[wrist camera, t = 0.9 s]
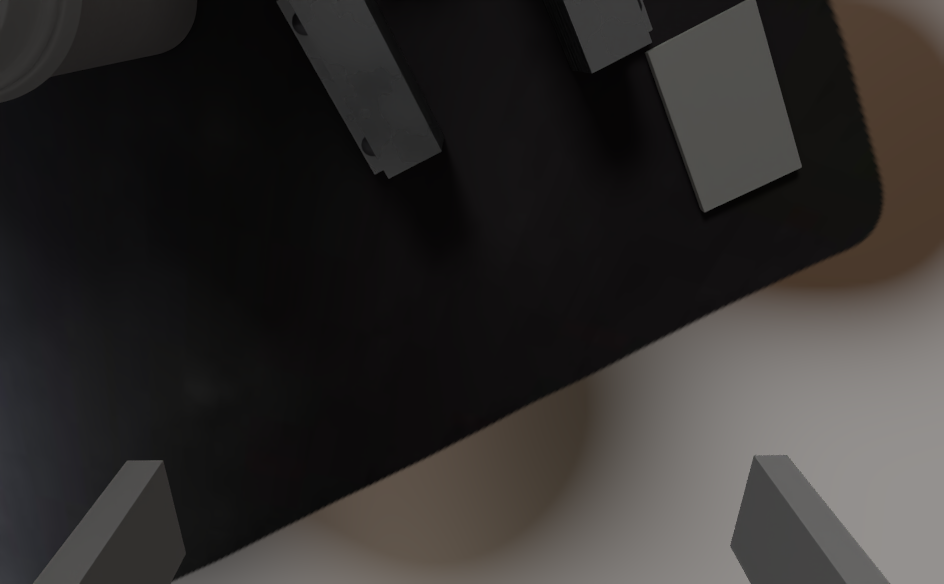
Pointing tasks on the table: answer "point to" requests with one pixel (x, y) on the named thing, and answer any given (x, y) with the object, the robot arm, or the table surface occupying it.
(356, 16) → the dark grey boxy pieces
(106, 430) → the table surface
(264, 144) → the table surface
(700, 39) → the mat
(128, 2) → the coffee cup
